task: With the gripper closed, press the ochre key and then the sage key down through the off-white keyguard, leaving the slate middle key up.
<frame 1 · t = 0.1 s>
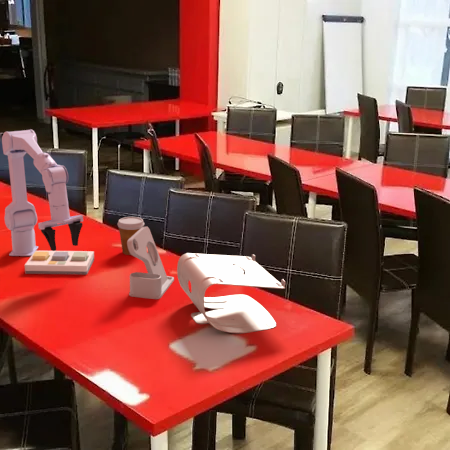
hand: (64, 247, 204), 11 cm above the table, tool pointing down, fingers open, 7 cm apart
portable electronic device stand: (228, 315, 185), on the table
phone holder: (151, 288, 202), on the table
key sage: (79, 257, 217), point 3 cm above the table, slide at 0.0 cm
key ochre: (40, 256, 216), point 3 cm above the table, slide at 0.0 cm
keyguard panel: (60, 266, 217), on the table
disposable coffee cup: (131, 252, 232), on the table
key slate: (60, 256, 216), point 3 cm above the table, slide at 0.0 cm
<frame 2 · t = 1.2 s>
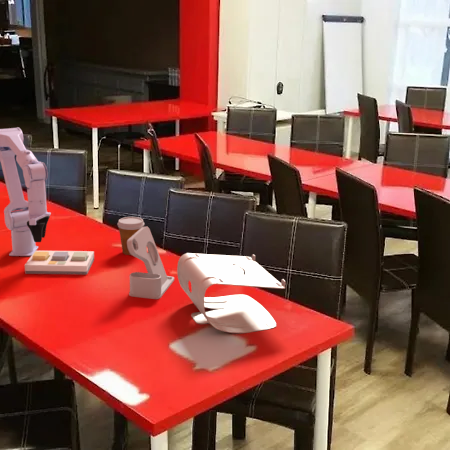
hand: (39, 239, 214), 9 cm above the table, tool pointing down, fingers open, 4 cm apart
nothing on the table moved.
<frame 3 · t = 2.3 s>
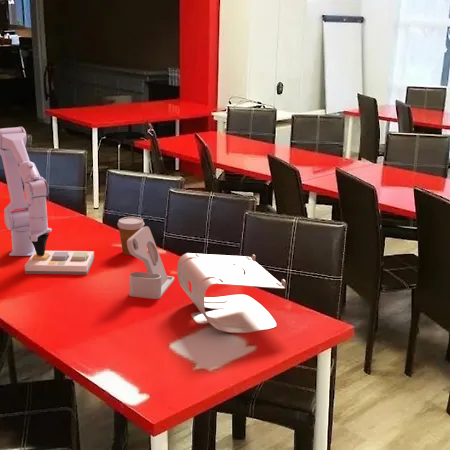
hand: (40, 255, 216), 4 cm above the table, tool pointing down, fingers closed, pressing on key ochre
key ochre: (40, 257, 216), point 3 cm above the table, slide at 0.4 cm, touching gripper
everything else where it was.
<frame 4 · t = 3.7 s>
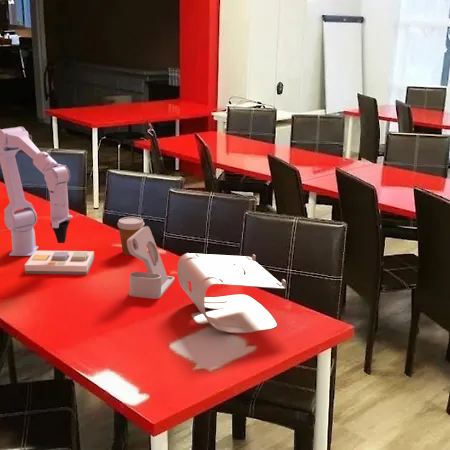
hand: (61, 242, 215), 9 cm above the table, tool pointing down, fingers closed
key ochre: (40, 259, 217), point 2 cm above the table, slide at 1.2 cm
everything else where it was.
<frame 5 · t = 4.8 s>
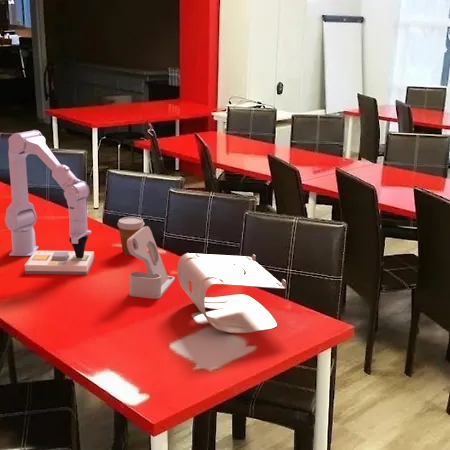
hand: (79, 257, 217), 3 cm above the table, tool pointing down, fingers closed, pressing on key sage
key sage: (79, 260, 217), point 2 cm above the table, slide at 1.0 cm, touching gripper
everything else where it was.
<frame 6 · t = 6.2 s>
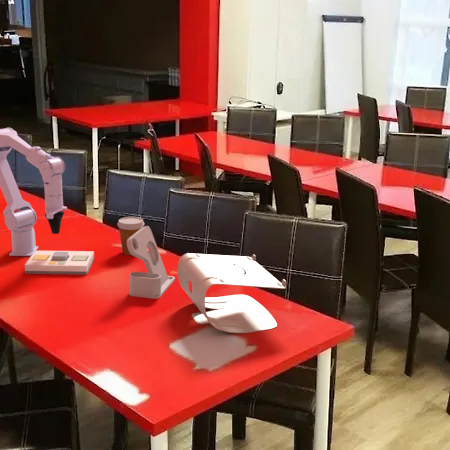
hand: (55, 233, 218), 10 cm above the table, tool pointing down, fingers closed
key sage: (80, 260, 217), point 2 cm above the table, slide at 1.2 cm
everything else where it was.
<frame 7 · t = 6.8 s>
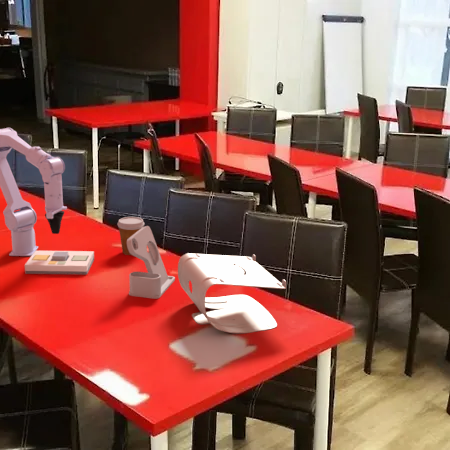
hand: (55, 233, 218), 10 cm above the table, tool pointing down, fingers closed
nothing on the table moved.
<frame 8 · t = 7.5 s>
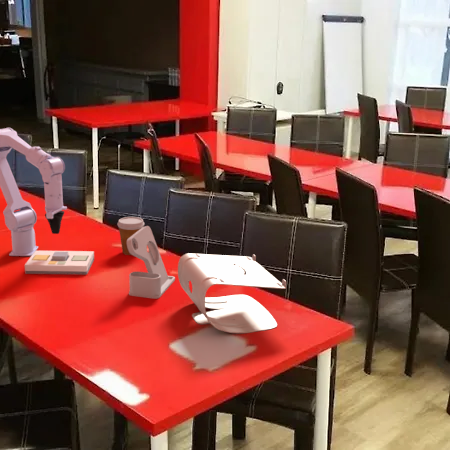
hand: (55, 233, 218), 10 cm above the table, tool pointing down, fingers closed
nothing on the table moved.
at the end: key ochre slide at 1.2 cm; key sage slide at 1.2 cm; key slate slide at 0.0 cm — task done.
